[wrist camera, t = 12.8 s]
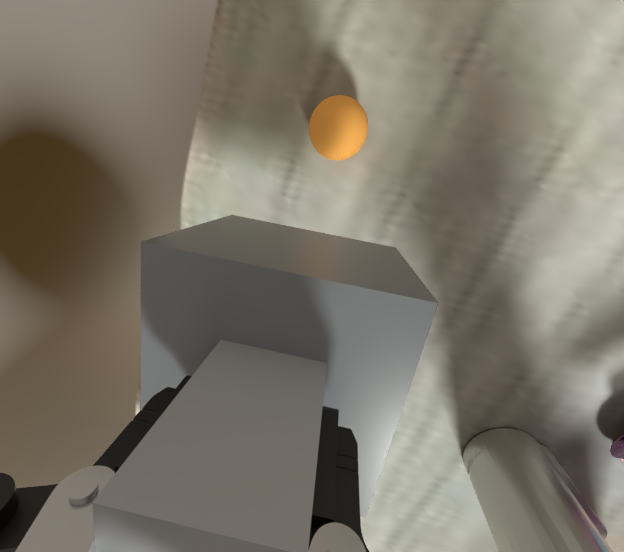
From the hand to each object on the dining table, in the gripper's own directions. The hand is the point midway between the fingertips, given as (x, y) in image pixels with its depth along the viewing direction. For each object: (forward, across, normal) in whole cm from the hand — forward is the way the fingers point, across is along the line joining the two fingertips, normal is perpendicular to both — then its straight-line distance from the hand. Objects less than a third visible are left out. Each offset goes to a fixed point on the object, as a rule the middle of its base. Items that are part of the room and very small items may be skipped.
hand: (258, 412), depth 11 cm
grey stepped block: (+10, 0, 0) cm, 10 cm away
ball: (+20, 0, -12) cm, 23 cm away
